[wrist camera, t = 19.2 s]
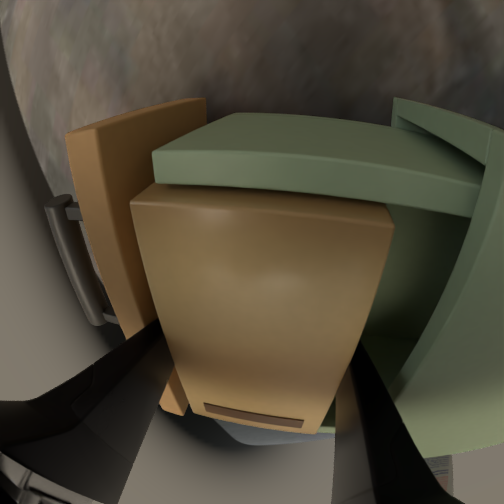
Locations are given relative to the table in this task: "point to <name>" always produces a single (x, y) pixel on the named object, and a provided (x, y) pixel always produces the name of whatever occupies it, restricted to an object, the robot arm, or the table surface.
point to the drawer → (272, 178)
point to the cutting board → (261, 294)
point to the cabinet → (460, 308)
